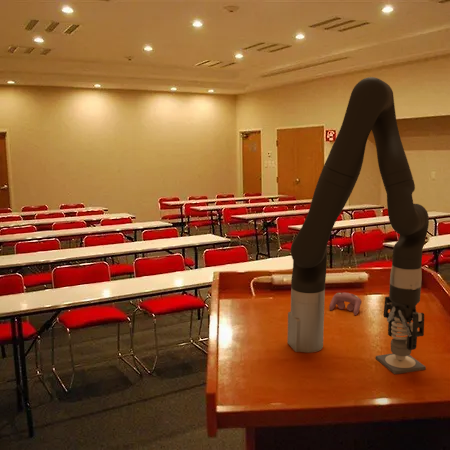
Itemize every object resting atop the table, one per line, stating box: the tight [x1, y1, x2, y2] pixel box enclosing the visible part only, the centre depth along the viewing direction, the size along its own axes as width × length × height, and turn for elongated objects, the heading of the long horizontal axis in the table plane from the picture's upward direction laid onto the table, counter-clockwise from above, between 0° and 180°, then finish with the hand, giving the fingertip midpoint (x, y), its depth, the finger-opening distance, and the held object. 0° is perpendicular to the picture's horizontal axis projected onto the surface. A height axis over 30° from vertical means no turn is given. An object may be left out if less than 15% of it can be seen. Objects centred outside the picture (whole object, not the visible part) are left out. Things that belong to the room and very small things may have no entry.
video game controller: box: [328, 292, 362, 316], centre depth 177 cm, size 10×5×7 cm, turn 59°
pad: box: [375, 352, 427, 375], centre depth 140 cm, size 9×9×1 cm
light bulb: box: [390, 317, 413, 361], centre depth 139 cm, size 6×6×12 cm
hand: (401, 342), depth 139 cm, fingers open, 8 cm apart
